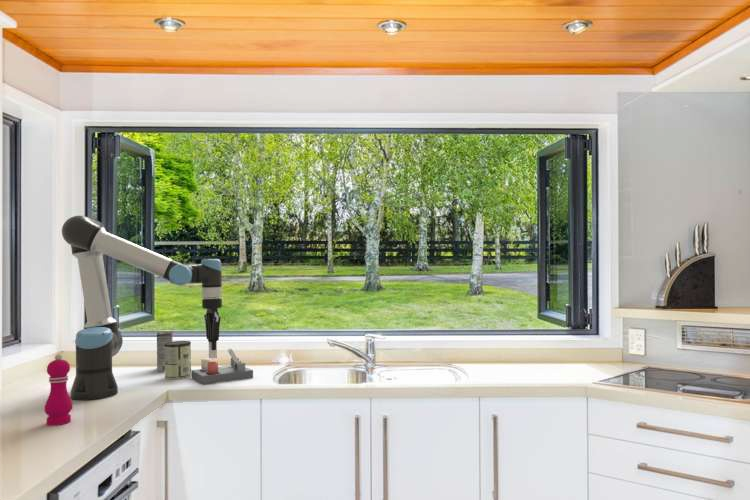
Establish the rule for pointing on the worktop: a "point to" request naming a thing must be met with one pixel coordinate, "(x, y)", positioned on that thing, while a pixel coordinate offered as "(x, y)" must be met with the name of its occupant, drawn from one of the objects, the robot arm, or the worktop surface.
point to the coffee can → (177, 360)
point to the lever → (233, 356)
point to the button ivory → (205, 364)
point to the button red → (212, 367)
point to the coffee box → (162, 348)
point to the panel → (223, 374)
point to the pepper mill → (58, 393)
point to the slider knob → (233, 361)
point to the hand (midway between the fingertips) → (212, 358)
